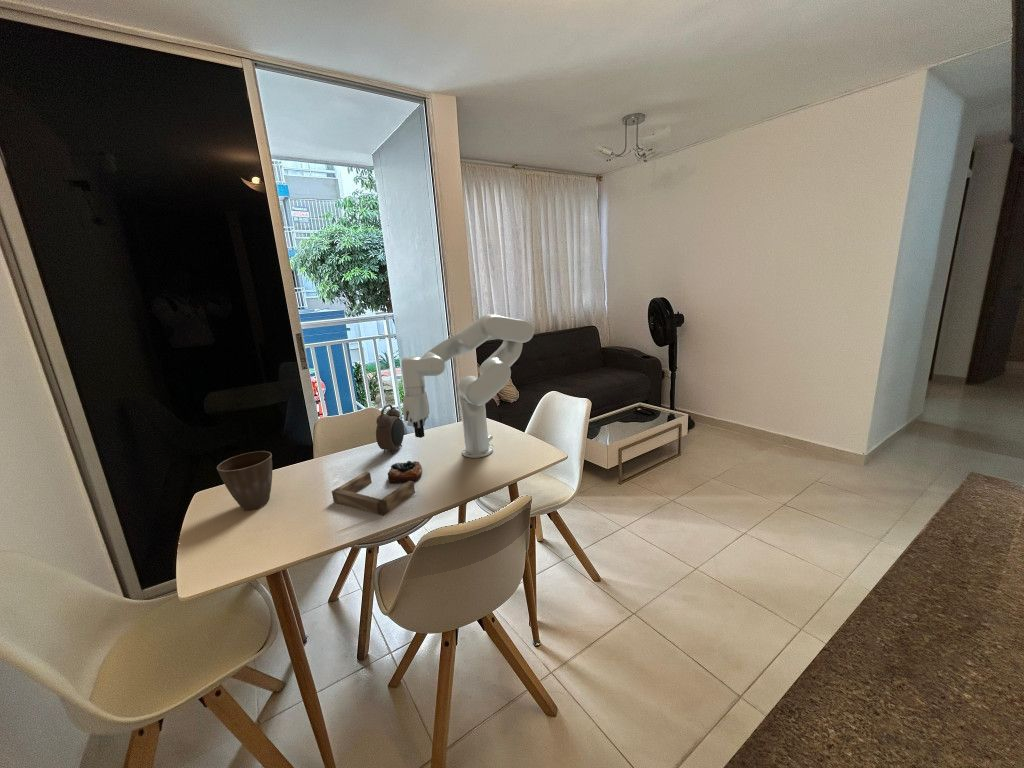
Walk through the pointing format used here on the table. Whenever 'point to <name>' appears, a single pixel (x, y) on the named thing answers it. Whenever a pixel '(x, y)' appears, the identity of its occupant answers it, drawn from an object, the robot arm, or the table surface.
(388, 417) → the alarm clock
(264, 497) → the plant pot
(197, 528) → the table surface
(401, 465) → the pastry
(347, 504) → the wooden u-shaped frame
